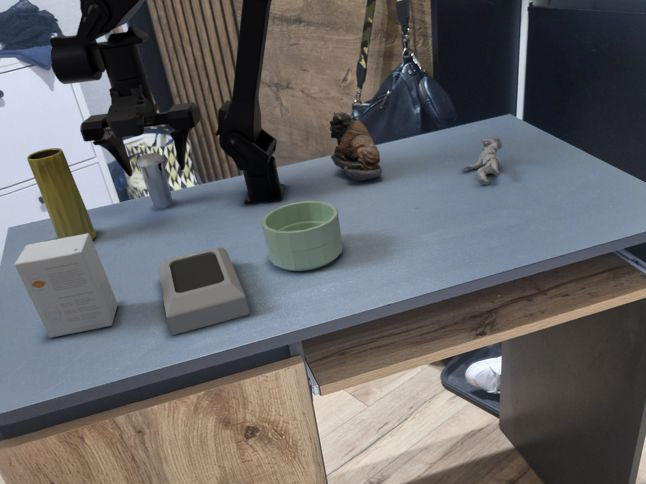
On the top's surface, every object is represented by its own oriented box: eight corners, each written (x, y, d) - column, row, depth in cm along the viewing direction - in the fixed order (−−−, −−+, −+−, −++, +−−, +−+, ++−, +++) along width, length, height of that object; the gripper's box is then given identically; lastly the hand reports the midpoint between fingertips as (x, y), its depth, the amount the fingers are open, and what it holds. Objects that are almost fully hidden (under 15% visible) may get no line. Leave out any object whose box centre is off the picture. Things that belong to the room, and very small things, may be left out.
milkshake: (174, 210, 111) (157, 152, 105) (146, 211, 112) (128, 154, 106) (185, 199, 114) (169, 143, 109) (158, 200, 115) (140, 145, 110)
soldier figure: (463, 192, 104) (456, 147, 111) (484, 206, 106) (476, 160, 113) (499, 160, 99) (489, 114, 106) (520, 175, 101) (509, 130, 108)
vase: (61, 251, 102) (24, 163, 94) (57, 238, 106) (22, 154, 98) (100, 240, 104) (67, 153, 96) (94, 228, 108) (62, 144, 100)
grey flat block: (163, 309, 74) (154, 258, 86) (172, 335, 76) (162, 282, 89) (243, 288, 76) (223, 240, 88) (250, 314, 78) (230, 264, 90)
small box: (119, 305, 85) (91, 231, 79) (113, 327, 80) (82, 250, 74) (58, 316, 84) (25, 243, 78) (48, 339, 79) (12, 263, 73)
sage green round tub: (274, 244, 94) (266, 205, 91) (343, 236, 93) (338, 197, 90) (266, 277, 86) (257, 236, 82) (342, 269, 85) (335, 227, 82)
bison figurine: (391, 178, 110) (386, 118, 104) (356, 189, 108) (348, 129, 102) (358, 162, 119) (351, 106, 114) (324, 172, 117) (316, 115, 111)
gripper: (50, 96, 95) (88, 196, 104) (172, 80, 93) (200, 183, 102) (77, 79, 104) (110, 172, 113) (189, 64, 103) (213, 160, 111)
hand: (156, 172), depth 110 cm, fingers open, 9 cm apart
